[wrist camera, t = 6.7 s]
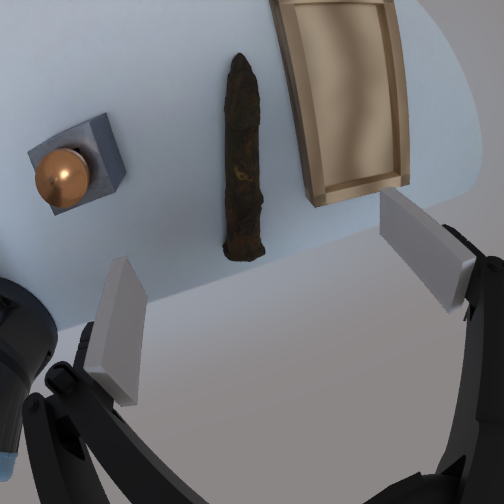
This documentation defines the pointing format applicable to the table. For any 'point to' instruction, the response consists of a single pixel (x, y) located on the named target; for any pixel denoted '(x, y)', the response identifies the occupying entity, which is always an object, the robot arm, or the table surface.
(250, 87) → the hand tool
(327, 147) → the tray
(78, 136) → the socket block
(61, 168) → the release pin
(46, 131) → the table surface
